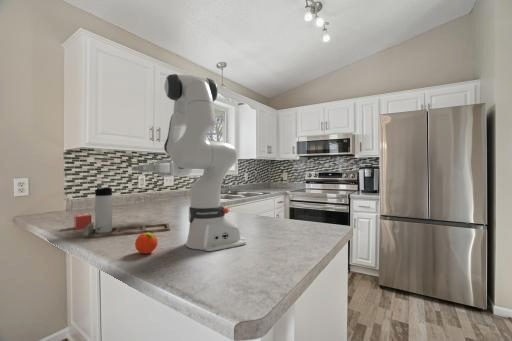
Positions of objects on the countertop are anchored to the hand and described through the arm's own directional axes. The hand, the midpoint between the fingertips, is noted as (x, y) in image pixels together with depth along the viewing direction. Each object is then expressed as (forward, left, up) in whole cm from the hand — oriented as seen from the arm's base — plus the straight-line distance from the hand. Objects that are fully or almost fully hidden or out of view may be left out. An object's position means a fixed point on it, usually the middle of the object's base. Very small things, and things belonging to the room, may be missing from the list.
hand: (137, 168), depth 118 cm
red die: (+24, -9, -28) cm, 38 cm away
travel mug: (+13, +6, -29) cm, 32 cm away
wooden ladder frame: (+3, +6, -28) cm, 29 cm away
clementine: (-5, +41, -29) cm, 50 cm away
